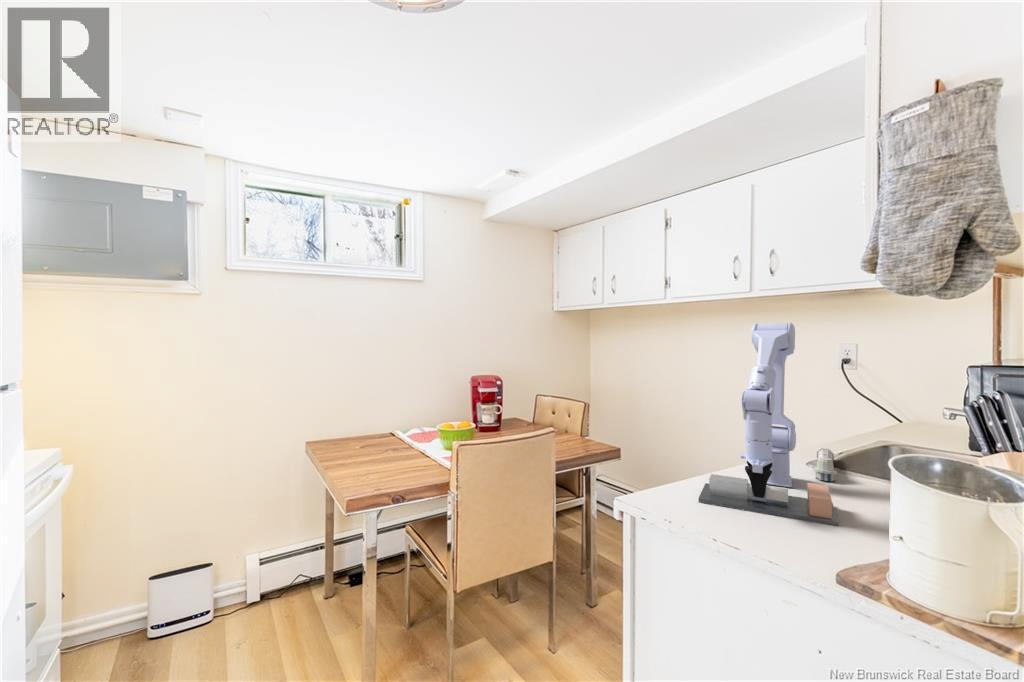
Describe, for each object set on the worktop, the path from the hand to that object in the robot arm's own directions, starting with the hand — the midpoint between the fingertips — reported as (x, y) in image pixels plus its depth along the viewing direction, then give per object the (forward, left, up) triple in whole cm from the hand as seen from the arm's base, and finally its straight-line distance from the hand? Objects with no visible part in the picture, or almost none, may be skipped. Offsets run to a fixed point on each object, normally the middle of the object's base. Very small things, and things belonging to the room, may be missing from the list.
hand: (759, 493), depth 107 cm
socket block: (0, +12, -1) cm, 12 cm away
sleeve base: (0, +1, -2) cm, 3 cm away
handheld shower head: (-37, +16, -3) cm, 40 cm away
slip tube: (0, -2, -1) cm, 2 cm away
